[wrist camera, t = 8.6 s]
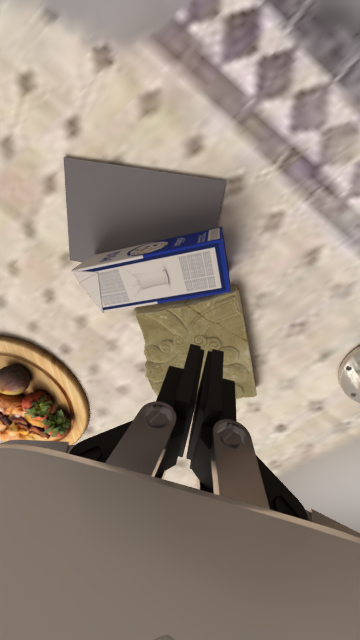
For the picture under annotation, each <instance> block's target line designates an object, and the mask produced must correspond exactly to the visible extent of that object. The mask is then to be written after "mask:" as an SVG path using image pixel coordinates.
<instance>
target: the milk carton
mask: <svg viewBox="0 0 360 640" xmlns="http://www.w3.org/2000/svg"><path fill="white" fill-rule="evenodd" d="M71 271H72V272H73V274H74V275H75V277H76V278H77V280H78V281H79V284H80V285H81V286H82V287H83V289H84V290H85V291H86V292H87V294H88V295H89V296H90V297H91V299H92V300H93V301H94V302H95V304H96V305H97V306H98V307H99V309H100V310H101V311H102V312H109V311H115V310H121V309H128V308H134V307H140V306H146V305H153V304H159V303H165V302H171V301H177V300H184V299H190V298H196V297H202V296H209V295H215V294H221V293H227V292H231V289H230V279H229V270H228V264H227V257H226V250H225V243H224V237H223V230H222V227H219V228H215V229H210V230H206V231H201V232H197V233H192V234H187V235H183V236H178V237H174V238H169V239H165V240H160V241H156V242H151V243H147V244H142V245H137V246H133V247H128V248H124V249H119V250H115V251H110V252H106V253H101V254H96V255H93V256H91V257H90V258H88V259H87V260H85V261H84V262H83V263H81V264H80V265H78V266H77V267H76V268H74V269H73V270H71Z"/></svg>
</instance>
